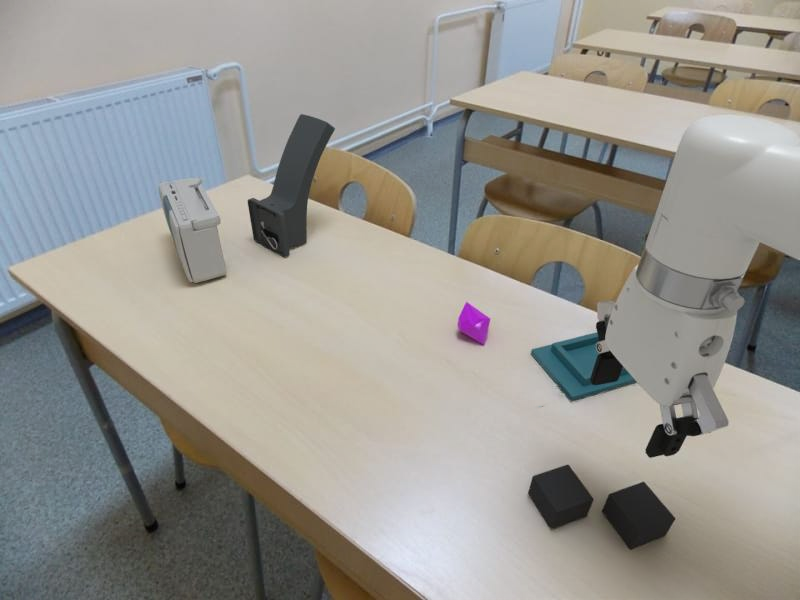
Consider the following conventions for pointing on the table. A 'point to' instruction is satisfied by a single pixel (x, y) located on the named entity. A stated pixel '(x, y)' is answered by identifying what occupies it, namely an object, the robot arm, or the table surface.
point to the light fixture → (290, 188)
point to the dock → (576, 366)
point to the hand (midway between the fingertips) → (629, 414)
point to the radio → (193, 228)
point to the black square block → (560, 496)
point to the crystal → (473, 323)
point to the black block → (637, 515)
